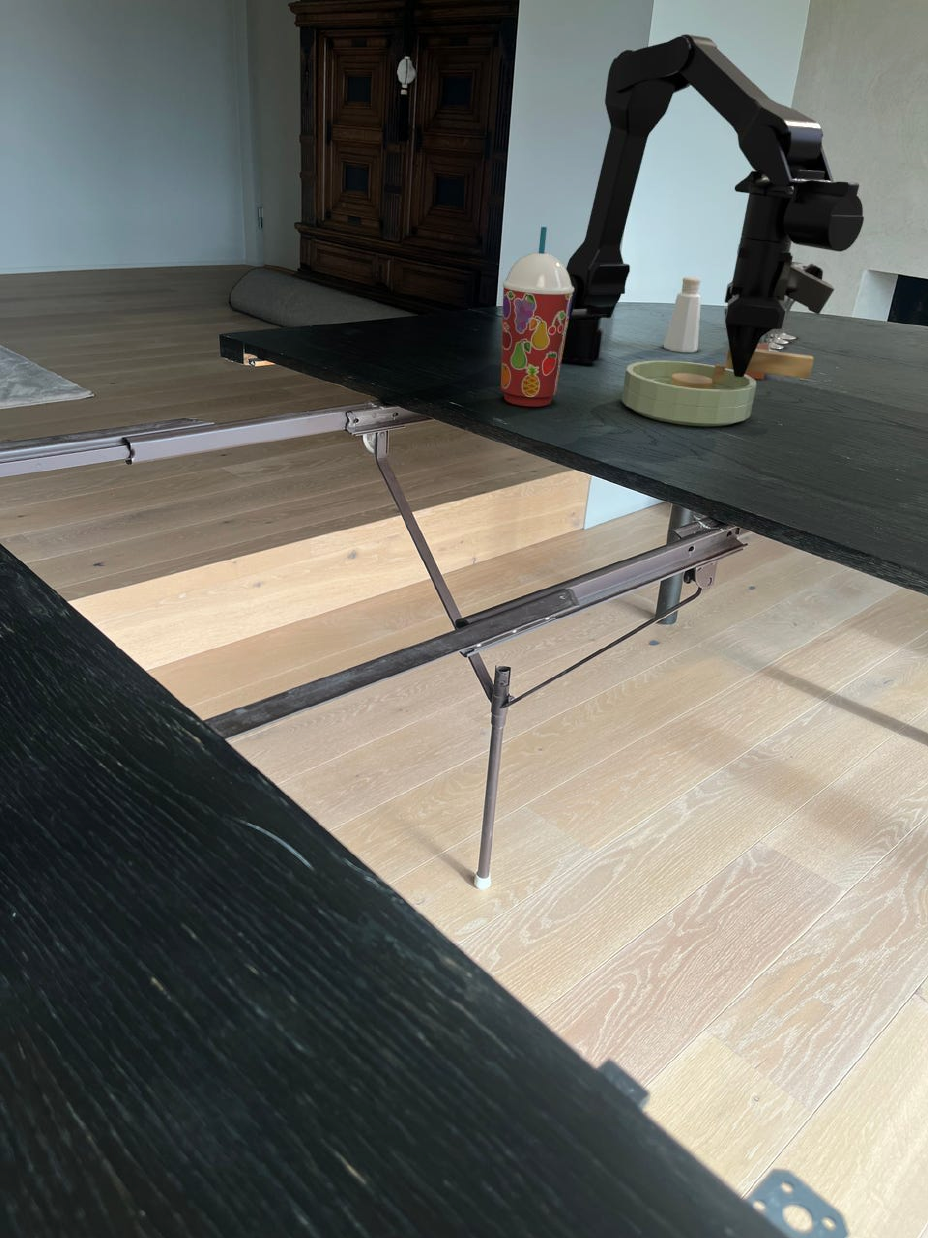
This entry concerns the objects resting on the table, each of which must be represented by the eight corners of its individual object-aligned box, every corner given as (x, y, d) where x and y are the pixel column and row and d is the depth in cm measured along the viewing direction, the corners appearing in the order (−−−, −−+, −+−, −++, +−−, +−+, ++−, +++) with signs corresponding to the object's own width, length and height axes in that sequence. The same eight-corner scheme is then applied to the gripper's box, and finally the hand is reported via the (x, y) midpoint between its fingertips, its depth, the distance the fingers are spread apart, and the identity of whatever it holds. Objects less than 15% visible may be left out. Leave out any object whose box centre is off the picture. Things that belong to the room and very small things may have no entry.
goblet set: (775, 362, 150) (794, 273, 144) (738, 356, 152) (756, 269, 146) (801, 336, 173) (818, 259, 167) (768, 332, 175) (784, 255, 169)
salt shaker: (682, 353, 152) (694, 280, 147) (656, 346, 155) (667, 275, 150) (704, 351, 155) (716, 279, 150) (678, 344, 158) (689, 274, 153)
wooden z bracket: (667, 399, 118) (677, 344, 115) (669, 389, 123) (678, 336, 120) (801, 417, 115) (815, 361, 112) (798, 407, 120) (811, 353, 117)
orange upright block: (742, 377, 139) (748, 347, 137) (741, 370, 143) (747, 341, 141) (763, 379, 138) (769, 350, 136) (762, 372, 143) (768, 344, 141)
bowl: (615, 418, 113) (621, 380, 111) (627, 389, 127) (632, 355, 125) (750, 435, 111) (758, 396, 109) (747, 404, 124) (754, 369, 122)
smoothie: (568, 398, 120) (587, 228, 111) (551, 414, 113) (571, 233, 104) (504, 389, 123) (519, 221, 113) (484, 403, 115) (498, 225, 106)
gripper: (848, 254, 101) (812, 401, 108) (830, 238, 117) (800, 367, 124) (740, 243, 103) (712, 388, 110) (737, 229, 119) (713, 356, 126)
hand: (738, 374), depth 117 cm, fingers closed on wooden z bracket
